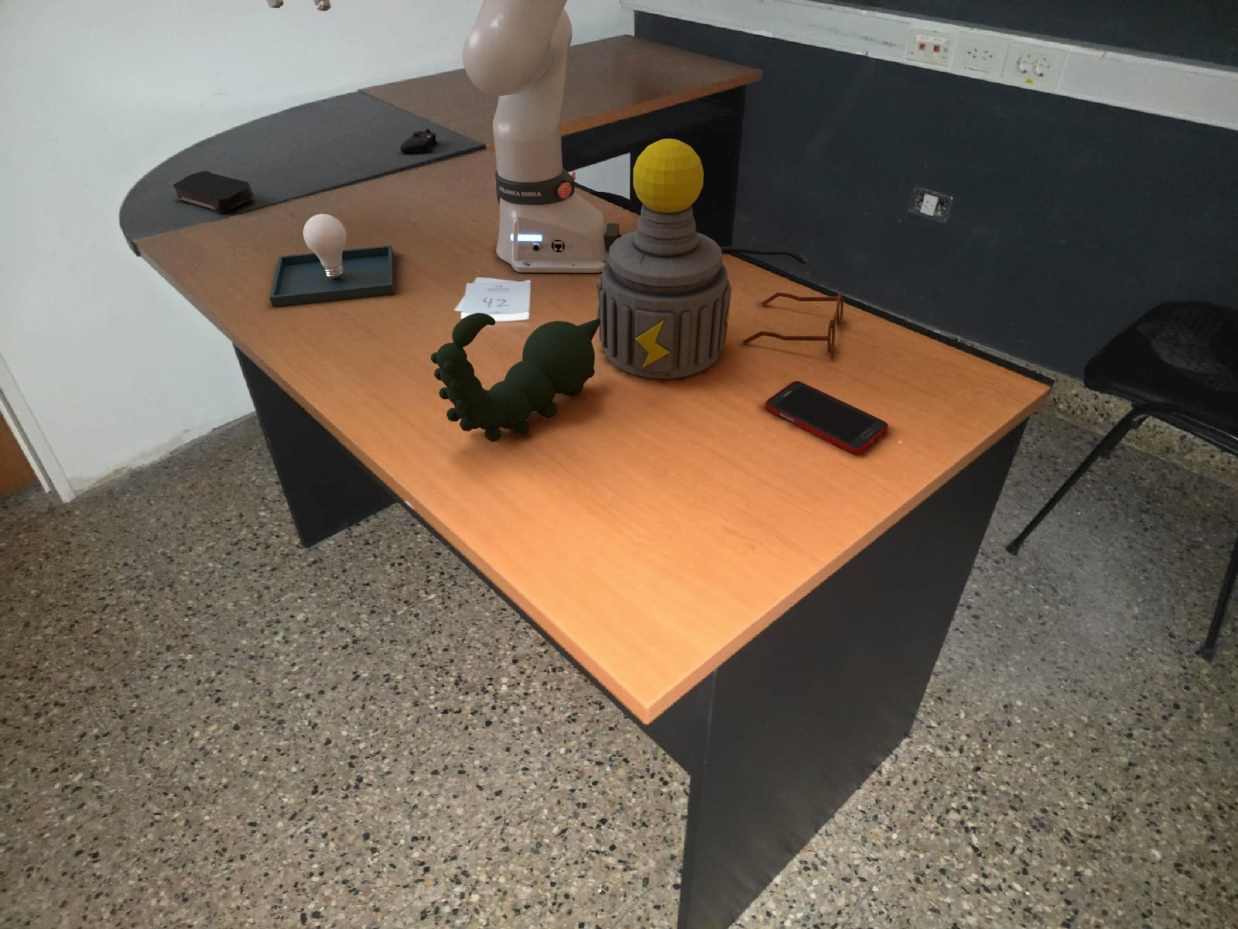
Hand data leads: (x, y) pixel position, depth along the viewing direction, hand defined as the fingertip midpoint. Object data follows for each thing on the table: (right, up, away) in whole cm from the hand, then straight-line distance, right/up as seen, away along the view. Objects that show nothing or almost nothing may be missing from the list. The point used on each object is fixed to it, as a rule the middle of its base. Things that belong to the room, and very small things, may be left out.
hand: (301, 7), depth 121 cm
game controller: (+3, +3, +63) cm, 63 cm away
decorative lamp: (+55, -53, -4) cm, 77 cm away
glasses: (+76, -50, 0) cm, 91 cm away
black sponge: (-33, -17, +39) cm, 54 cm away
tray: (+1, -39, +13) cm, 41 cm away
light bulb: (+1, -39, +13) cm, 41 cm away
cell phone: (+76, -64, -18) cm, 101 cm away
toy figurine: (+37, -64, -16) cm, 76 cm away
